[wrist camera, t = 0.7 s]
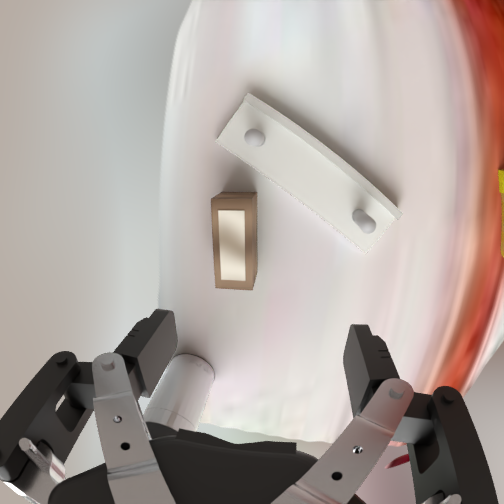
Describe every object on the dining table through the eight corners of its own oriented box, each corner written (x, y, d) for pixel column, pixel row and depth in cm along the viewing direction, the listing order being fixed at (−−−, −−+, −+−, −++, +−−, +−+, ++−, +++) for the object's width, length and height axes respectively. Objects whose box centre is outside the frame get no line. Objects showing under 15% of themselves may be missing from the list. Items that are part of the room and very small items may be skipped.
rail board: (363, 250, 40) (375, 268, 34) (217, 142, 37) (204, 140, 31) (397, 209, 37) (414, 220, 31) (250, 96, 34) (243, 85, 28)
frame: (257, 271, 43) (252, 290, 37) (224, 270, 44) (215, 288, 38) (257, 192, 39) (251, 199, 33) (221, 192, 40) (210, 199, 34)
